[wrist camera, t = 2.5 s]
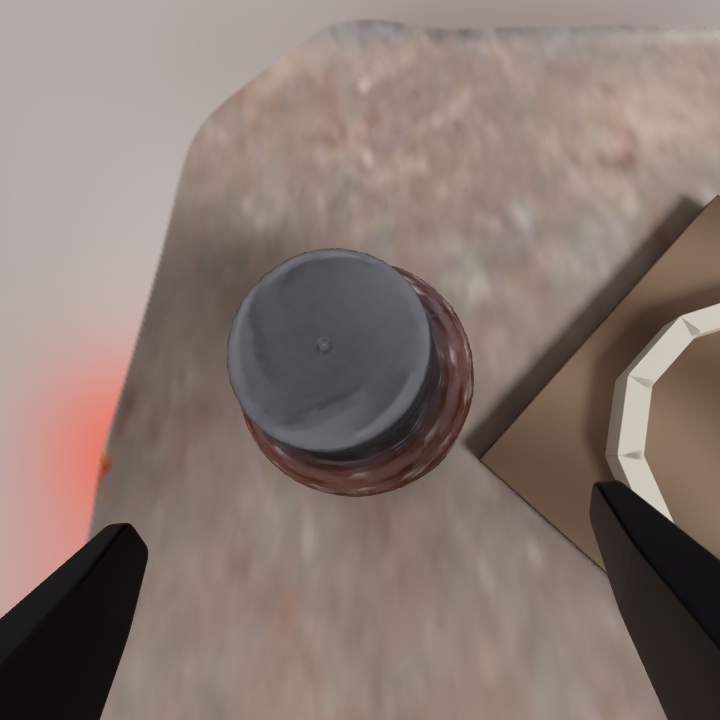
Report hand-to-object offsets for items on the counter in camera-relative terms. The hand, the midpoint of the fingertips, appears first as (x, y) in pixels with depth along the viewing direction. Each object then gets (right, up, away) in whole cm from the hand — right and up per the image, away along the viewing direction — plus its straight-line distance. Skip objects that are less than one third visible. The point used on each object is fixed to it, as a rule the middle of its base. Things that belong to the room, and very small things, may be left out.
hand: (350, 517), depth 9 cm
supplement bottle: (+1, +1, +11) cm, 11 cm away
